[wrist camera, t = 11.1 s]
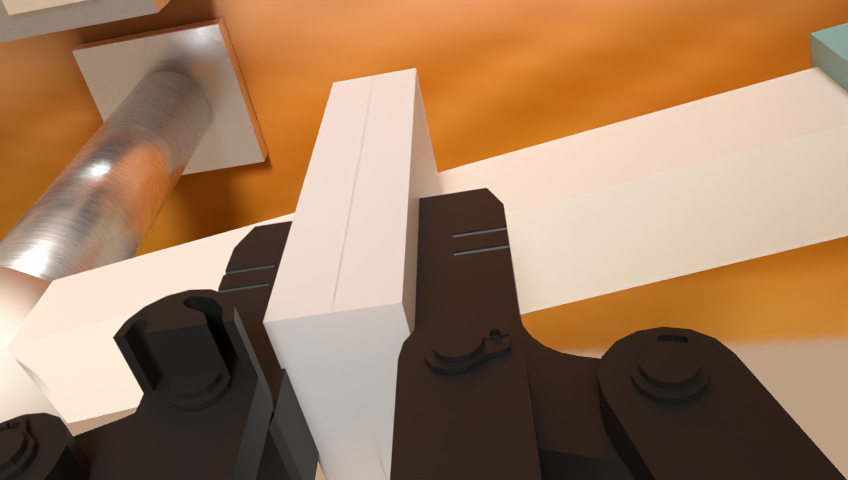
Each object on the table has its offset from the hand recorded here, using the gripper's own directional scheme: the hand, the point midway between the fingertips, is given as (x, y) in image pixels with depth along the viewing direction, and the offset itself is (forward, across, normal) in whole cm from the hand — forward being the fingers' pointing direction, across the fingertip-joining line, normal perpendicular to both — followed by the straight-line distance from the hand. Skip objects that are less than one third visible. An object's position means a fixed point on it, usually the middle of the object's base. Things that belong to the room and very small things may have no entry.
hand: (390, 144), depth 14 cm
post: (+17, -11, -4) cm, 20 cm away
